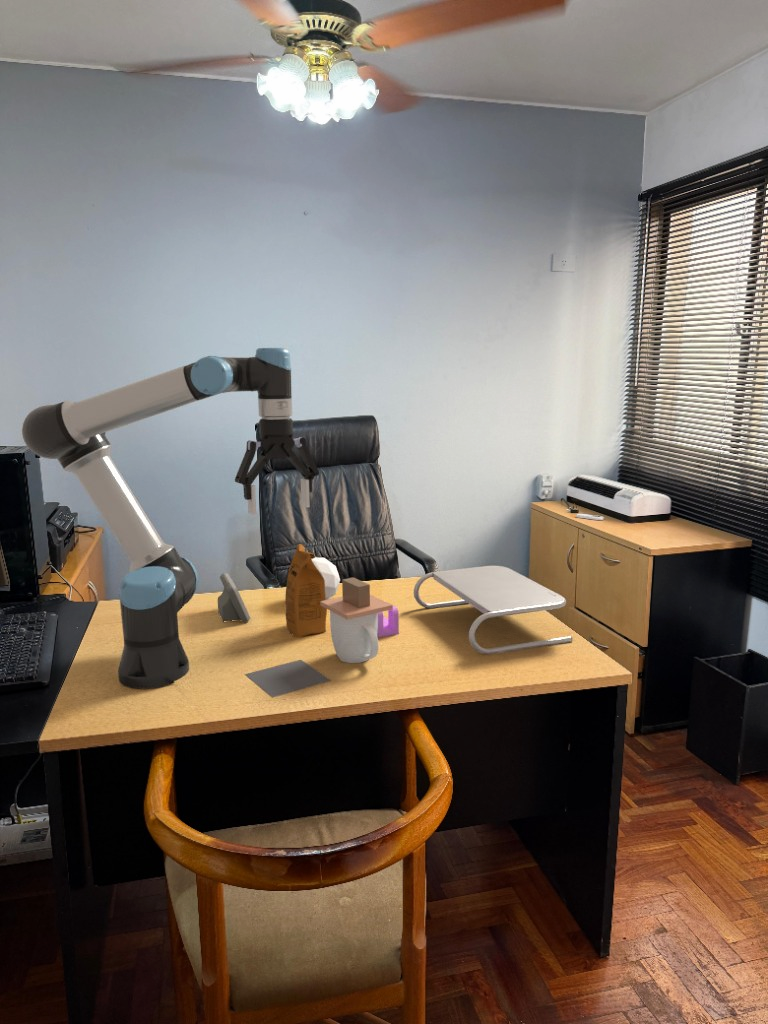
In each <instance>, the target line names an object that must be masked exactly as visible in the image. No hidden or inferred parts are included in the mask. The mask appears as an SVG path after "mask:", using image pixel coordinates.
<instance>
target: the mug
mask: <svg viewBox="0 0 768 1024" xmlns="http://www.w3.org/2000/svg"><path fill="white" fill-rule="evenodd" d="M329 621H330V623H329V624H330V625H329V626H330V634H331V635H330V636H331V642H332V645H333V648H334V652H335V654H336V655H337V657H338V659H339V660H340V661H341V662H343V663H347V664H359V663H363V662H366V661H369V660H371V659H374V658H375V657H377V655H378V653H379V637H378V636H377V630H378V614H377V613H374V614H370V615H366V616H362V617H358V618H353V619H349V620H347V619H345V618H343V617H341V616H339V615H337V614H336V613H334V612H332V611H330V610H329Z"/></svg>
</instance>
